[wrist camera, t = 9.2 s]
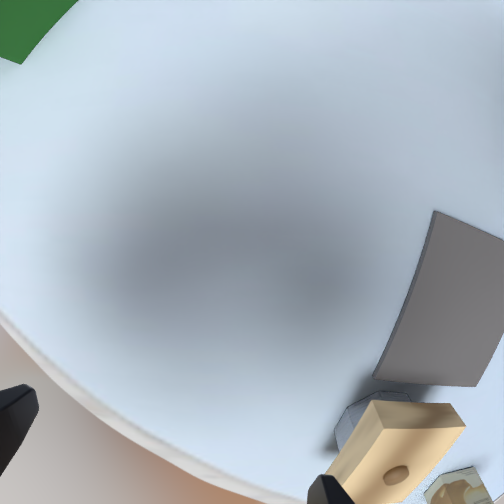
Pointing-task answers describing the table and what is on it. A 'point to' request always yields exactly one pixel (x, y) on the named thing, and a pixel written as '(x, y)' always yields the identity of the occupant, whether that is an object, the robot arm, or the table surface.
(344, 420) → the bowl
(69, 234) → the table surface
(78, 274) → the table surface
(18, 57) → the hardback book
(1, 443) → the robot arm
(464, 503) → the skincare box
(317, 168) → the table surface
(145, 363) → the table surface
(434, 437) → the lid
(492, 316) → the mat
